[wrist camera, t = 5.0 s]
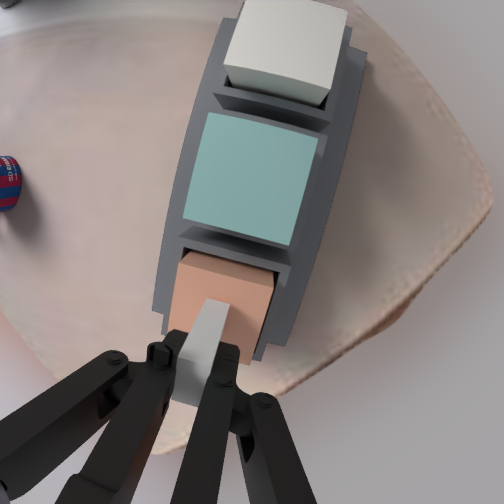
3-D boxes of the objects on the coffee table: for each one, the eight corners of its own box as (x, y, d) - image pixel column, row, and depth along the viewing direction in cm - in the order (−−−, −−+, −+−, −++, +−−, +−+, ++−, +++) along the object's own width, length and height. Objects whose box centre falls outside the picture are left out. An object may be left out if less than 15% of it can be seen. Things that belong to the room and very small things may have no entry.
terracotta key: (197, 244, 23) (178, 262, 18) (272, 263, 23) (273, 288, 18) (184, 311, 24) (165, 342, 19) (253, 329, 24) (249, 365, 19)
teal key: (223, 127, 19) (208, 112, 14) (305, 148, 20) (318, 138, 15) (202, 208, 21) (182, 217, 16) (284, 229, 21) (288, 245, 16)
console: (225, 23, 21) (214, -11, 15) (363, 57, 21) (385, 30, 15) (156, 305, 28) (131, 334, 22) (284, 340, 28) (287, 377, 22)
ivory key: (254, 24, 17) (250, -12, 12) (332, 43, 17) (347, 11, 12) (233, 89, 19) (223, 63, 14) (315, 109, 19) (330, 89, 14)
